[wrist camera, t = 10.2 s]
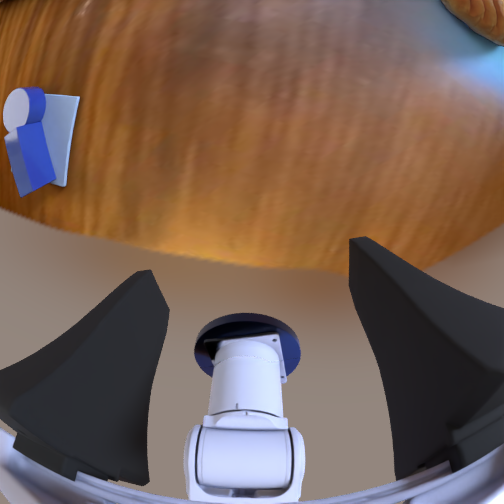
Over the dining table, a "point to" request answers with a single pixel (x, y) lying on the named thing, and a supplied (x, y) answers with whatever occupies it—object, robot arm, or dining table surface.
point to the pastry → (480, 17)
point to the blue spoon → (27, 139)
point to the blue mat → (59, 132)
